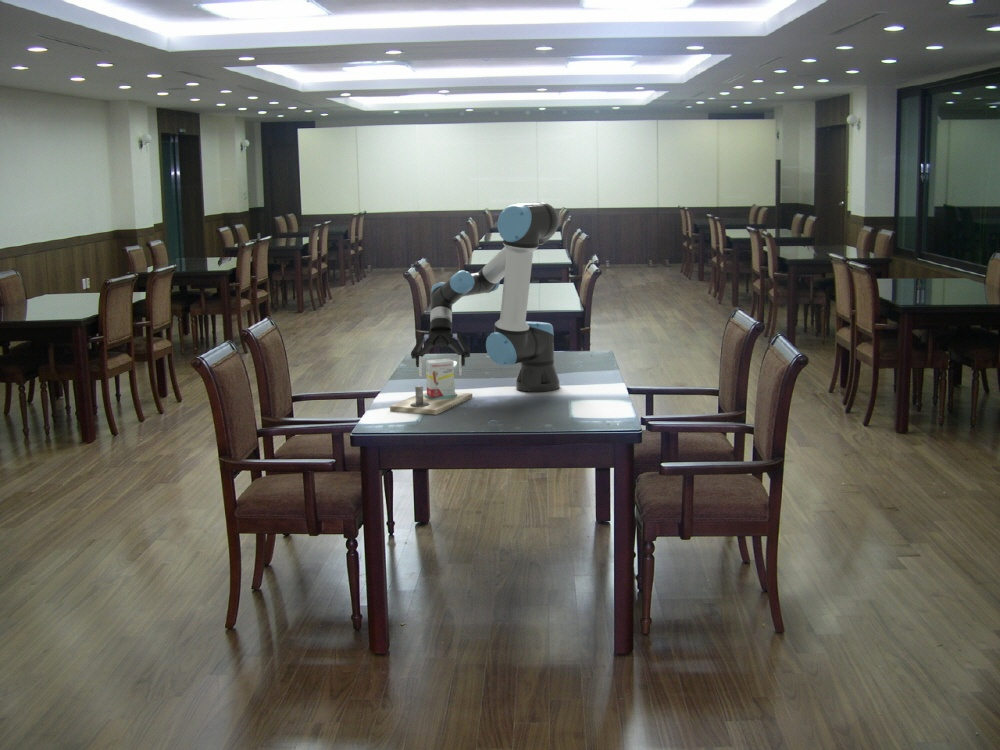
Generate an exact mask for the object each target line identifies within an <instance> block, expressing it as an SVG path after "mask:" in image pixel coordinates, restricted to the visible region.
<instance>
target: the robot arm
mask: <svg viewBox="0 0 1000 750" xmlns="http://www.w3.org/2000/svg"><path fill="white" fill-rule="evenodd" d="M559 223H560V218H559V214H558V213H557V210H556V209H555V207H553V206H552V205H551V204H549V203H546V202H542V201H540V202H528V203H527V202H526V203H521V202H520V203H515V204H511V205H508V206H506V207H505V208H504V209H503V210H502V211H501V212H500V214H499V215H498V219H497V231H498V233H499V237H500V238H501V239H502V240H503V241H502V244H503V246H504V247H503V248H502V249H500V251H498V253H497V254H495V255H494V256H493V257H492V259H491V260H489V261H488V262H487V263H486V264H485V265H484V266H483V267H482V268H481V269H480V270H479V271H477V272H473V273H470V271H466V270H465V269H463V270H462V269H461V270H459V271H457V272H456V273H454V274H453V275H452V276H451V277H450V278H448V280H447V281H446V282H438V283H435V284H433V285H432V287H431V291H430V314H429V315H430V318H429V319H430V323H429V324H430V325H429V326H430V327H429V334H428V333H427V334H425V332H421V333H420V337H419V339H418V341H417V342H416V344H415V345H414V348H413V349H412V350H411V352H410V357H411V359H412V360H415V367H416V368H418V377H422V375H423V374H422V373H423V357H424V356H425V355H426V354H427V353H428V352H429V351H430V350H431V349H433V348H435V347H446V346H447V347H448V348H450V349H451V350H452V351H453V352H455V353H456V355H458V375H459V376H462V373H463V371H462V370H463V368H462V367H465V366H466V358H470V357H471V351H470V349H469V347H468V346H467V345H466V343H465V341H464V340H463V338H462V335H461V332H460V331H457V332H456V333H453V330H452V329H453V324H452V323H453V305H454V304H456V303H457V302H458V301H459V300H460V299H461V298H463V297H468V296H474V295H481V294H489V293H491V292H495V291H497V290H498V289H499V286H500V284H501V283H500V282H501V281H502V280H503V285H502V287H503V288H502V296H501V297H502V298H501V305H500V317H499V319H498V320H497V321H495V323H494V329H493V330H494V331H493V332H491V333H490V334H489V335H488V336H487V338H486V341H485V348H486V352H487V355H488V356H489V359H490V360H491V361H492V362H493V363H495V365H498V366H501V367H506V366H513V365H516V364H520V368H519V371H518V375H517V378H516V381H515V389H517V390H519V391H522V392H529V393H530V392H531V393H533V392H535V393H539V392H540V393H541V392H549V391H555V390H557V389H559V388H560V387H561V386H560V379H559V375H558V371H556V366H555V343H554V340H555V338H554V337H555V333H554V326H553V325H552V324H551V323H550V322H541V321H527V314H528V312H527V311H528V302H529V294H530V293H529V292H530V285H531V284H530V283H531V276H532V275H531V274H532V268H533V264H532V263H533V257H534V252H535V251H536V250H537V249H538V248H539V245H541V246H542V245H544V244H546V243H547V242H548V241H549V240H550V239H551V238H552V237H553V236H554V235H555V234H556V232H557V230H558V228H559ZM427 339H428V342H427V343H426V344H425V345H424V343H425V342H426V341H427ZM453 339H455V340H456V341H457V342H458V344H459V346H460V347H459V346H458V345H457V344H456V343H455V342H454V341H453Z"/></svg>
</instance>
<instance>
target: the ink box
mask: <svg viewBox="0 0 1000 750" xmlns="http://www.w3.org/2000/svg"><path fill="white" fill-rule="evenodd" d="M454 363H455V362H454V360H452V359H450V357H449V358H439V359H438V358H437V359H428V360H426V361H425V370H426V371H425V374H426V391H427V395H428V396H430V397H441V396H450V395H455V392H456V391H455V388H456V387H455V386H456V384H455V371H454V370H455V367H454V366H455V365H454Z"/></svg>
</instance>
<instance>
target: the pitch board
mask: <svg viewBox="0 0 1000 750" xmlns="http://www.w3.org/2000/svg"><path fill="white" fill-rule="evenodd" d="M423 387H424V386H423V385H416V386H415V387H414V390H415V391H414V392H415V395H413V396H411V397H409V398H406V399H404V400H401V401H398V402H395V403H394V404H392V405H389V410H390V411H393V412H402V413H411V414H412V413H414V414H424V415H439V414H440V413H443V412H445V411H447V410H449V409H451V407H452V408H453V406H454V407H456V406H458V405H460V404H462V403H464V402H463V401H465V402H467V401H468V399H469V400H471V399H473V398H472V397H474V396H473V393H470V392H462V391H461V392H457V391H455V395H450V396H441V397H430V396H428V395H427V390H425V391H424V388H423ZM470 398H471V399H470ZM466 400H467V401H466ZM461 402H462V403H461ZM459 403H460V404H459ZM457 404H458V405H457ZM455 405H456V406H455Z"/></svg>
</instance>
